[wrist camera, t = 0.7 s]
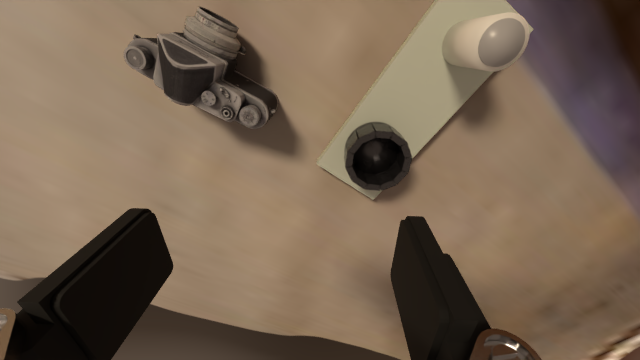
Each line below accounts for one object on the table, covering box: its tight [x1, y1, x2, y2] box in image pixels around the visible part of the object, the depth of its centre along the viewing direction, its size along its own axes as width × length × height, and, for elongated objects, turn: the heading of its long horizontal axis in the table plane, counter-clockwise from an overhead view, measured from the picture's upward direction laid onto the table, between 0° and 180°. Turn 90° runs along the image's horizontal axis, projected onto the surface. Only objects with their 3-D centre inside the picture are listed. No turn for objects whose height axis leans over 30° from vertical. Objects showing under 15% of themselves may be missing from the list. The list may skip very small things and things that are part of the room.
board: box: [317, 0, 533, 200], centre depth 32 cm, size 26×10×2 cm, turn 146°
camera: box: [124, 6, 278, 129], centre depth 26 cm, size 16×8×10 cm, turn 61°
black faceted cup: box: [344, 122, 412, 191], centre depth 32 cm, size 8×8×4 cm
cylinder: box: [442, 12, 529, 72], centre depth 25 cm, size 4×4×7 cm
